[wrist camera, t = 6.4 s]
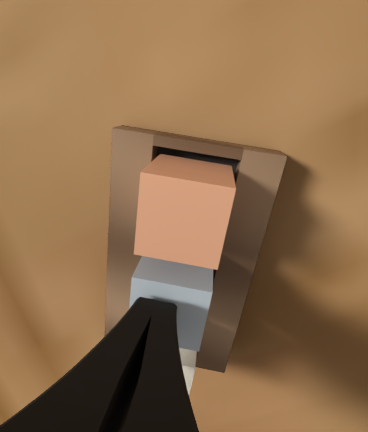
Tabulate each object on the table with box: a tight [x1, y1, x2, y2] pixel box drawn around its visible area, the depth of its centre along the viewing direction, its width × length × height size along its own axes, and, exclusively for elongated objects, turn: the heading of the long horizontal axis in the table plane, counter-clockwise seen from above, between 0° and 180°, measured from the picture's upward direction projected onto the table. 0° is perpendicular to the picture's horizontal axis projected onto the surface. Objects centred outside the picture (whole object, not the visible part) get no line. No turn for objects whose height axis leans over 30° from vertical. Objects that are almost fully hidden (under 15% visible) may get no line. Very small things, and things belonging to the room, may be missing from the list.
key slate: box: [129, 256, 213, 352], centre depth 11 cm, size 3×3×3 cm
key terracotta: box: [134, 154, 236, 270], centre depth 10 cm, size 3×3×3 cm
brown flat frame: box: [105, 125, 287, 373], centre depth 13 cm, size 12×7×1 cm, turn 173°
